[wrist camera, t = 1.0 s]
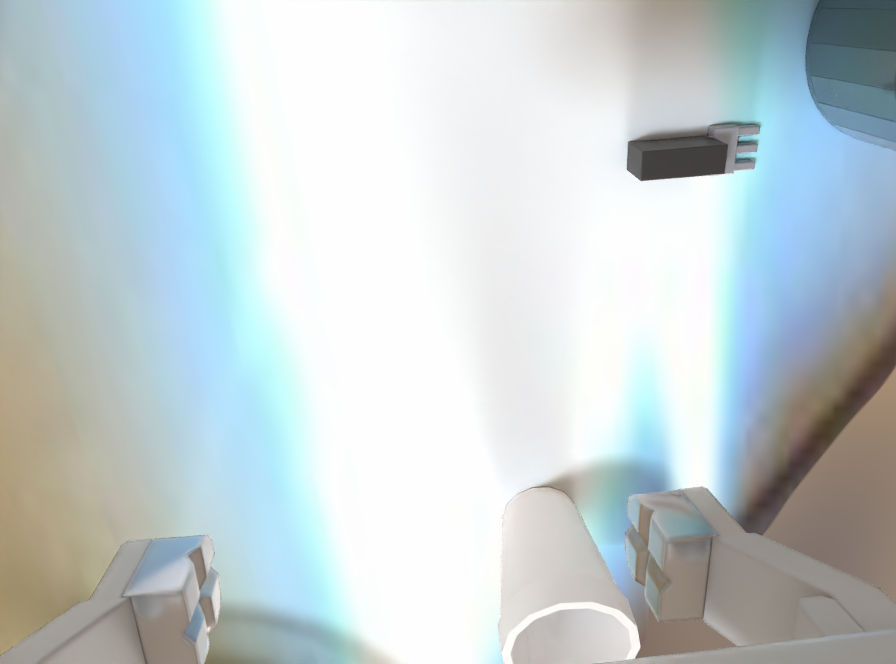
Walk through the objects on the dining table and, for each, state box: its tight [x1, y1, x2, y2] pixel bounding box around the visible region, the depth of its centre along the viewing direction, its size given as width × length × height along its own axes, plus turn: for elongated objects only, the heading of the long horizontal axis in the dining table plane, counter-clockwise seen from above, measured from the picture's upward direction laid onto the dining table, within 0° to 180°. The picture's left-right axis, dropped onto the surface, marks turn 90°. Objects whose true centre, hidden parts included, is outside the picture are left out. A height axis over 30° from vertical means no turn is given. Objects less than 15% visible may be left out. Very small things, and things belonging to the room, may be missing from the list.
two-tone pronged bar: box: [627, 124, 760, 181], centre depth 41 cm, size 8×3×3 cm, turn 94°
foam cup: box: [498, 487, 640, 664], centre depth 50 cm, size 10×9×13 cm
